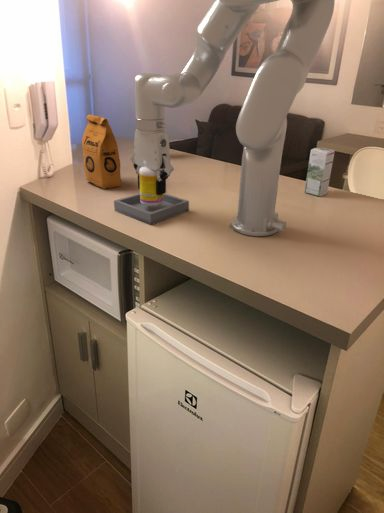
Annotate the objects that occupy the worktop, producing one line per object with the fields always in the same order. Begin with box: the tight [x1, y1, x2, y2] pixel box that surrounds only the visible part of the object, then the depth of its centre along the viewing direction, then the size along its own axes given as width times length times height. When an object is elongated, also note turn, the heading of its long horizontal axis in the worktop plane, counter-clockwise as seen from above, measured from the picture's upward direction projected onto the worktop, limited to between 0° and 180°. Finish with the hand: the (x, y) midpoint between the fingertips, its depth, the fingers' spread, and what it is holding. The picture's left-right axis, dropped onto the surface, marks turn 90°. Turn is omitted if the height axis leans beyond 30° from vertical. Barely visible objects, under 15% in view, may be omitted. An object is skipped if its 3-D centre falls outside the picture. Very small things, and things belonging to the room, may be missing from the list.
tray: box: [113, 192, 190, 226], centre depth 119 cm, size 15×15×3 cm
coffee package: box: [81, 114, 122, 190], centre depth 136 cm, size 10×12×22 cm
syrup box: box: [304, 146, 335, 197], centre depth 135 cm, size 6×6×14 cm
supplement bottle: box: [139, 160, 164, 206], centre depth 115 cm, size 7×7×13 cm
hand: (151, 190), depth 117 cm, fingers closed on supplement bottle, 6 cm apart
